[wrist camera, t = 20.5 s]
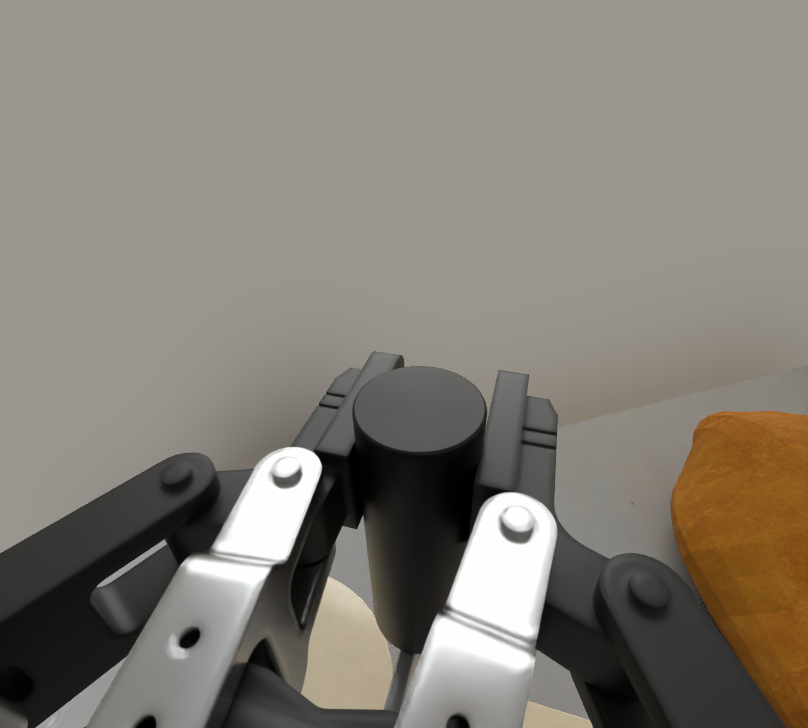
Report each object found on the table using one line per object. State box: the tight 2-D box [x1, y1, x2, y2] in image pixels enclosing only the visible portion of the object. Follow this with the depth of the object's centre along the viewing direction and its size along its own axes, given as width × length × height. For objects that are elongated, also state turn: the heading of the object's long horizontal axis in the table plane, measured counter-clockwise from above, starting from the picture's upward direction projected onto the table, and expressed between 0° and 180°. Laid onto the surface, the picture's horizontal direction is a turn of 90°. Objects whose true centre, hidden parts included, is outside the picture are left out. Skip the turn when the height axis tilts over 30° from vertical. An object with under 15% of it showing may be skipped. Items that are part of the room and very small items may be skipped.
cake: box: [301, 577, 393, 710], centre depth 23 cm, size 12×12×4 cm
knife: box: [352, 366, 487, 713], centre depth 13 cm, size 8×2×16 cm, turn 164°
